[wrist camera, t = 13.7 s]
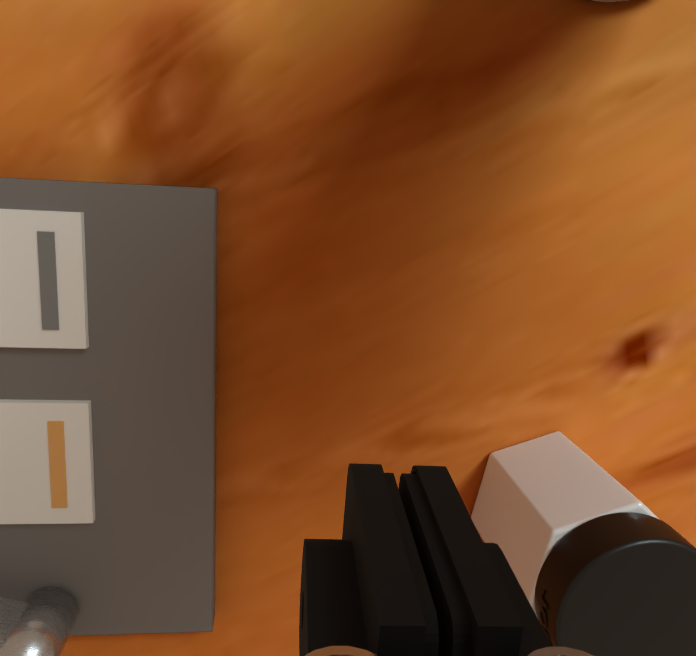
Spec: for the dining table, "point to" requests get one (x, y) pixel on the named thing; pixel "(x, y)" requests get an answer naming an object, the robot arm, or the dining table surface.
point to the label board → (109, 401)
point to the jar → (588, 552)
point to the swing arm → (37, 622)
